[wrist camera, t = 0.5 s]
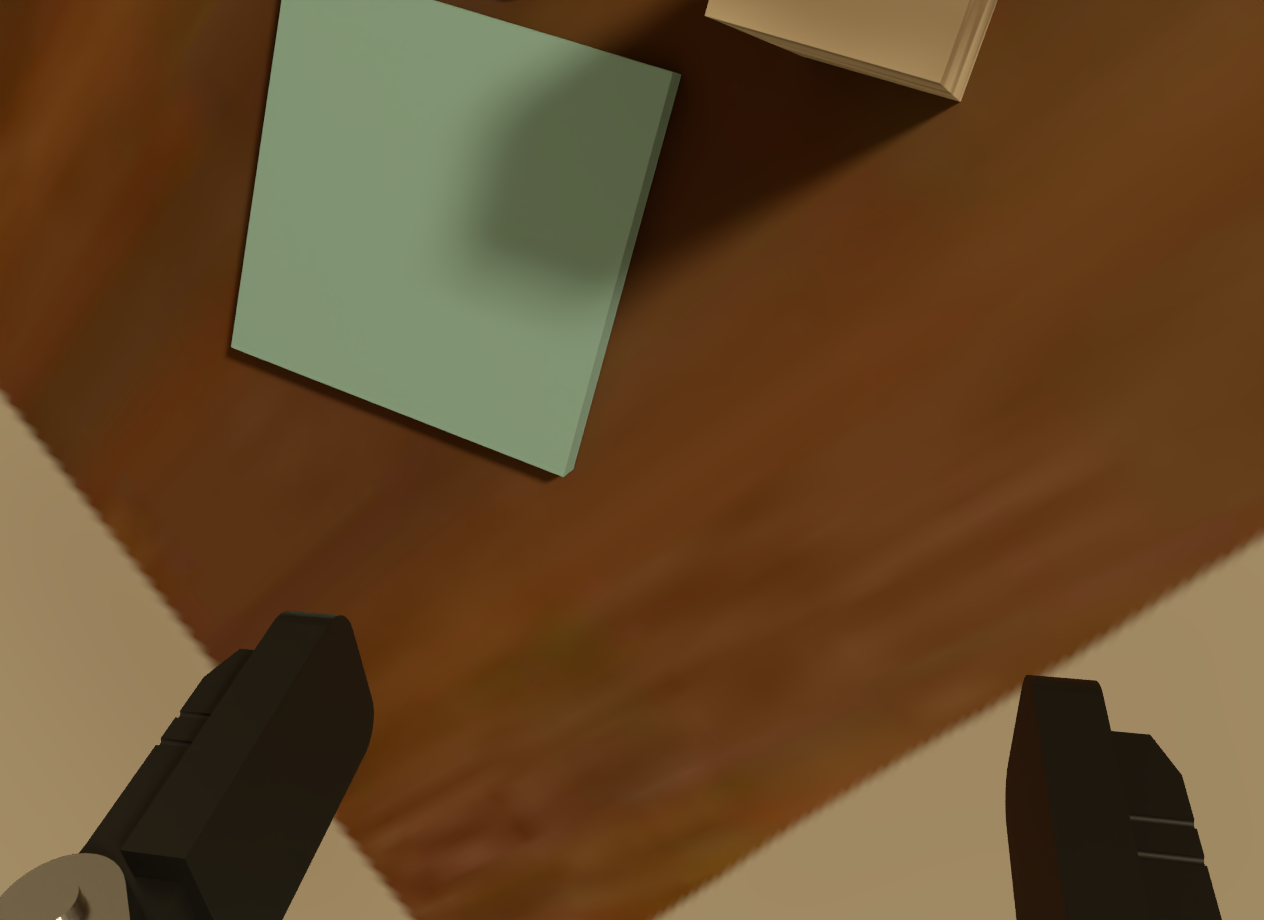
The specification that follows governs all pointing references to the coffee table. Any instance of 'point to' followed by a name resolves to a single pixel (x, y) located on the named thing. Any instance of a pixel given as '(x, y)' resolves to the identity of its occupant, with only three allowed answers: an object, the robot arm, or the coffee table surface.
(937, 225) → the coffee table surface
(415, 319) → the green square tile
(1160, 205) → the coffee table surface
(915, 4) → the birch block
